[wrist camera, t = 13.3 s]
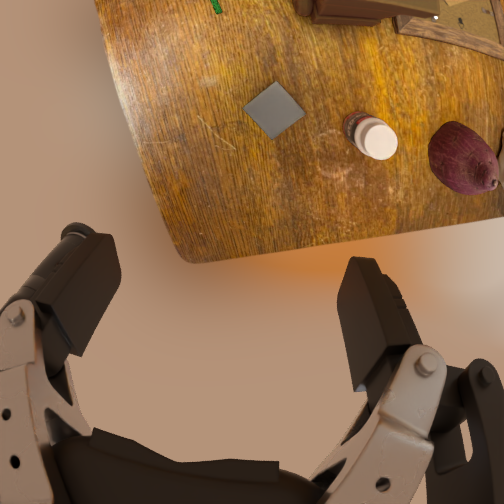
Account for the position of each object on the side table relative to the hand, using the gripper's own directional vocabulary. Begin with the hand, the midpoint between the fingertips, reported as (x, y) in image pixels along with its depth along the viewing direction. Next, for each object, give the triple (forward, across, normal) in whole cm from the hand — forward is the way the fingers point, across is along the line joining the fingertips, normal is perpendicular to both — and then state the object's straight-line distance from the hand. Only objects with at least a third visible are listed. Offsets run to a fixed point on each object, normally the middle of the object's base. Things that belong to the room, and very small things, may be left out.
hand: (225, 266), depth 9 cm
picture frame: (+29, -26, -29) cm, 48 cm away
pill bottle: (+29, -13, -2) cm, 32 cm away
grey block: (+29, -2, -3) cm, 29 cm away
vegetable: (+29, -30, -2) cm, 42 cm away
